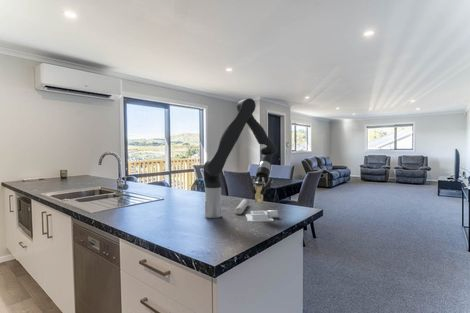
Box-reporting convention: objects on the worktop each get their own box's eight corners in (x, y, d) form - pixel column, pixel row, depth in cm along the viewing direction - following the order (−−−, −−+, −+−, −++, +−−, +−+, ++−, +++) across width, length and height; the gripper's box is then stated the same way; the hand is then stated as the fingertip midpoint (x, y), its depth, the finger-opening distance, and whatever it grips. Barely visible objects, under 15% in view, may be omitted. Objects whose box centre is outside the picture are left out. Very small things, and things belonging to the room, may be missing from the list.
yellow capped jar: (254, 203, 145) (254, 182, 145) (253, 201, 151) (253, 181, 151) (264, 202, 146) (264, 182, 145) (263, 200, 151) (263, 181, 151)
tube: (243, 208, 155) (250, 200, 180) (235, 205, 156) (242, 197, 181) (241, 217, 156) (247, 207, 180) (232, 214, 157) (240, 204, 181)
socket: (247, 221, 141) (247, 213, 141) (245, 215, 155) (245, 208, 155) (280, 221, 142) (280, 213, 142) (274, 214, 156) (274, 207, 156)
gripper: (250, 166, 157) (244, 189, 146) (274, 166, 152) (269, 190, 141) (253, 174, 162) (247, 196, 152) (276, 174, 157) (271, 198, 146)
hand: (258, 193), depth 146 cm, fingers closed on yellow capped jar, 4 cm apart
